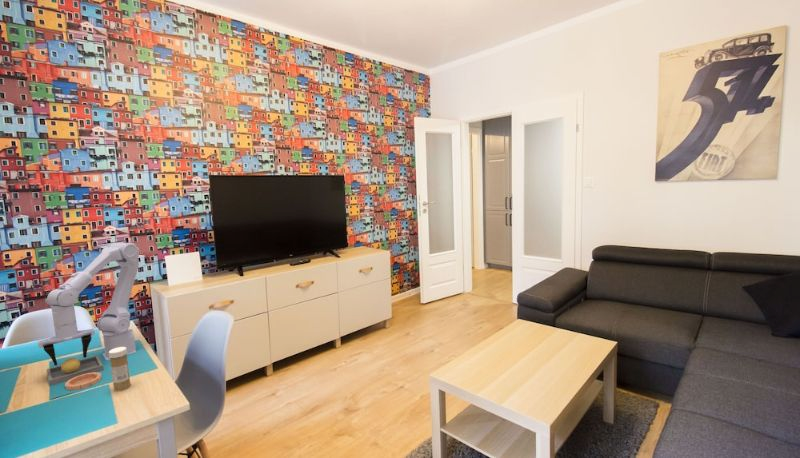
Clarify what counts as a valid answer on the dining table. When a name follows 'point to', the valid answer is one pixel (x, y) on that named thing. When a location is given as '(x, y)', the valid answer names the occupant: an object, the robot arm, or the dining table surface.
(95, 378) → the copper shallow bowl
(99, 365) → the tray
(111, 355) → the sprinkles bottle
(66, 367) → the ball
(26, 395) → the dining table surface
